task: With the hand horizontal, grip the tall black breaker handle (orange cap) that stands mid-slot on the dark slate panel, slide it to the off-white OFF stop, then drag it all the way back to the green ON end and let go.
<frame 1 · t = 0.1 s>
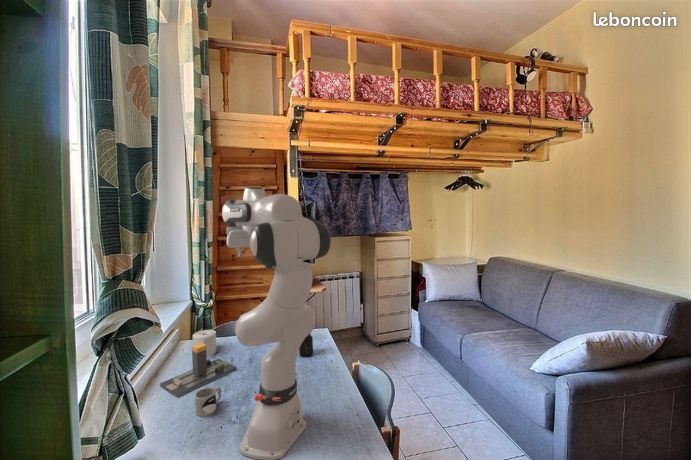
hand: (251, 255, 133), 52 cm above the table, tool tilted 20°, fingers open, 8 cm apart
supplement bottle: (306, 354, 154), on the table
mug: (210, 408, 112), on the table
toilet tissue: (205, 353, 156), on the table
breaker handle: (199, 359, 133), point 8 cm above the table, slide at 6.0 cm
breaker panel: (200, 377, 133), on the table
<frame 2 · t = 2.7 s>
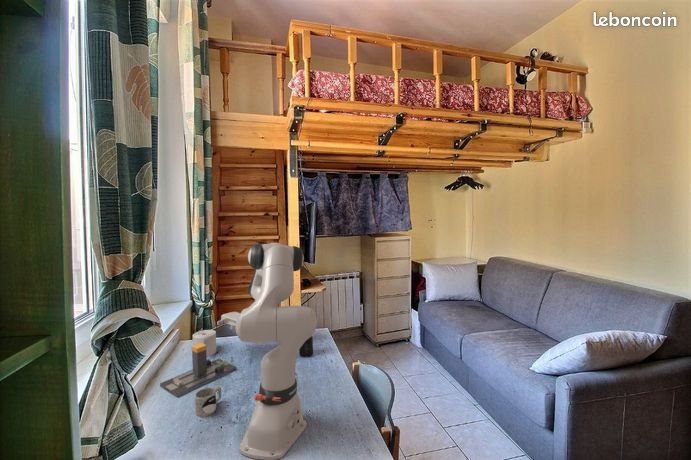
hand: (224, 325, 142), 19 cm above the table, tool horizontal, fingers open, 8 cm apart
nothing on the table moved.
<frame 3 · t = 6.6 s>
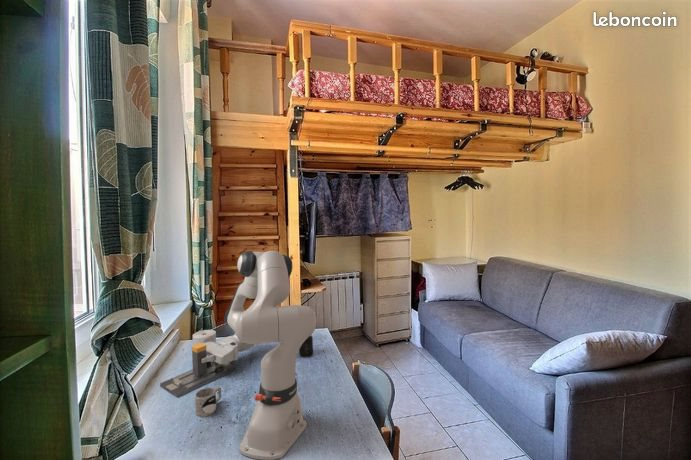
hand: (197, 359, 132), 8 cm above the table, tool horizontal, fingers closed on breaker handle, 4 cm apart
breaker handle: (199, 359, 133), point 8 cm above the table, slide at 6.0 cm, touching gripper
everything else where it was.
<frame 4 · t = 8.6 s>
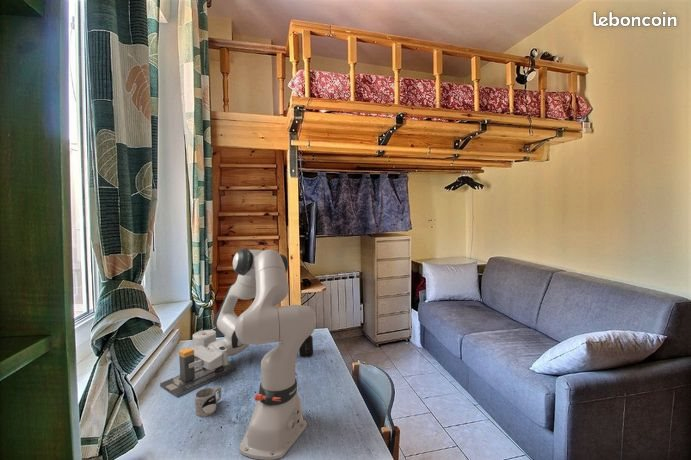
hand: (184, 364, 128), 8 cm above the table, tool horizontal, fingers closed on breaker handle, 4 cm apart
breaker handle: (187, 364, 128), point 8 cm above the table, slide at 11.3 cm, touching gripper
everything else where it was.
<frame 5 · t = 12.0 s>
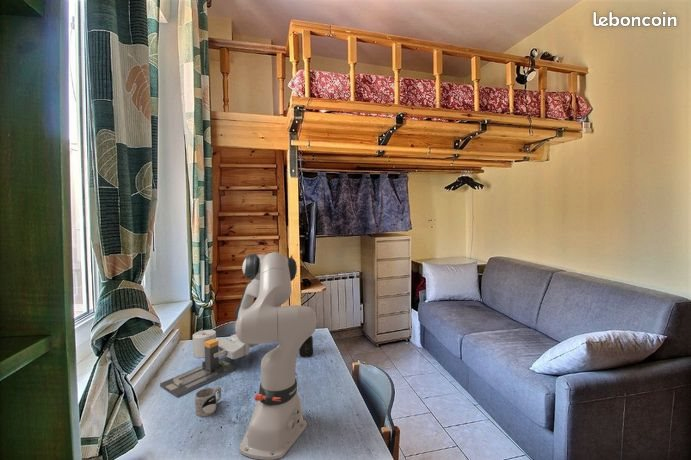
hand: (209, 354, 136), 8 cm above the table, tool horizontal, fingers closed on breaker handle, 4 cm apart
breaker handle: (211, 354, 137), point 8 cm above the table, slide at 0.4 cm, touching gripper
everything else where it was.
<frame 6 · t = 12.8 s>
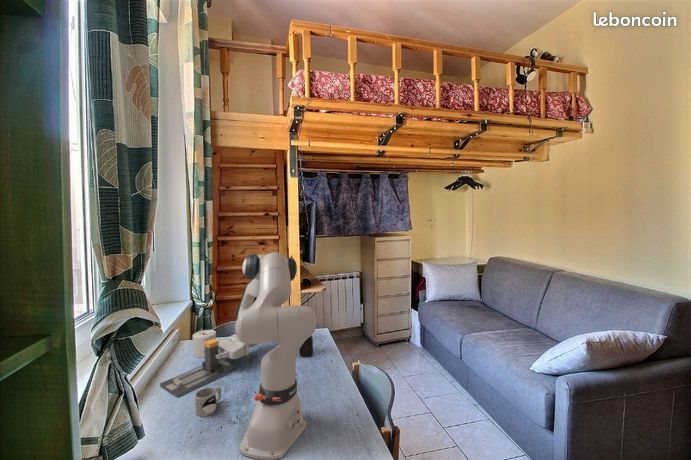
hand: (209, 354, 136), 8 cm above the table, tool horizontal, fingers open, 8 cm apart
breaker handle: (211, 354, 137), point 8 cm above the table, slide at 0.4 cm
everything else where it was.
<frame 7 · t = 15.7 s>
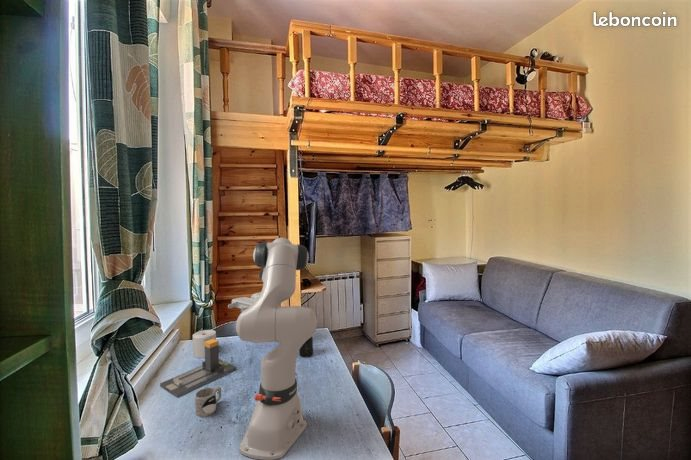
hand: (235, 308, 146), 25 cm above the table, tool horizontal, fingers open, 8 cm apart
nothing on the table moved.
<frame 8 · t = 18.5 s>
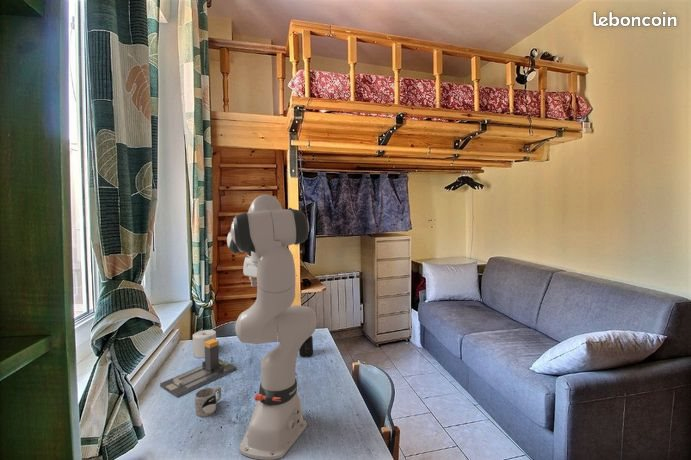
hand: (260, 287, 137), 37 cm above the table, tool pointing down, fingers open, 8 cm apart
nothing on the table moved.
at the end: breaker handle slide at 0.4 cm; the gripper is holding nothing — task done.
